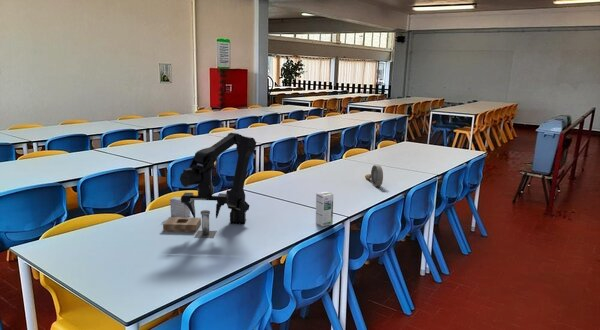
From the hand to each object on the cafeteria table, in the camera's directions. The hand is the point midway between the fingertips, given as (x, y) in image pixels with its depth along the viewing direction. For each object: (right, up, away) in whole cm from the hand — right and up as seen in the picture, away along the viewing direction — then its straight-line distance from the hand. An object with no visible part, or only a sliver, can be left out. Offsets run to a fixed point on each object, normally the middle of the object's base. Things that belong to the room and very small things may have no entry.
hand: (205, 217), depth 183 cm
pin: (0, -7, +2) cm, 7 cm away
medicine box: (-17, -2, +23) cm, 29 cm away
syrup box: (+50, -5, +18) cm, 54 cm away
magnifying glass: (+85, +10, +90) cm, 124 cm away
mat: (0, -7, +2) cm, 8 cm away
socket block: (-12, -6, +8) cm, 15 cm away
